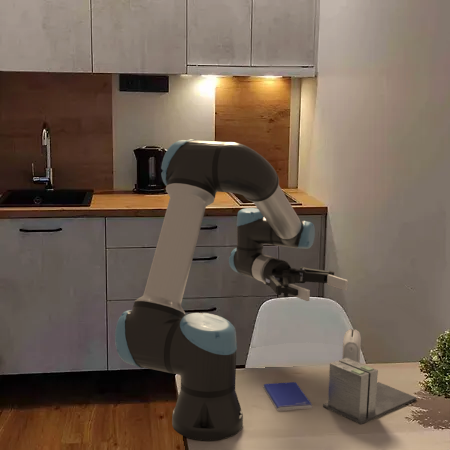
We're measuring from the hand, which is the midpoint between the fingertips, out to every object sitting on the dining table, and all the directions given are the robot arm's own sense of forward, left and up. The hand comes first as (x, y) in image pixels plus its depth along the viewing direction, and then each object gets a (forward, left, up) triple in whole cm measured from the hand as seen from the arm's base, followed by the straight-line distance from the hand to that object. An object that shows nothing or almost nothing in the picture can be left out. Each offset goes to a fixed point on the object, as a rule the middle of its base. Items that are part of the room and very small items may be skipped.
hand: (328, 290), depth 181 cm
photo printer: (0, -8, -21) cm, 23 cm away
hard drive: (-20, -6, -22) cm, 30 cm away
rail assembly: (-7, -20, -21) cm, 30 cm away
